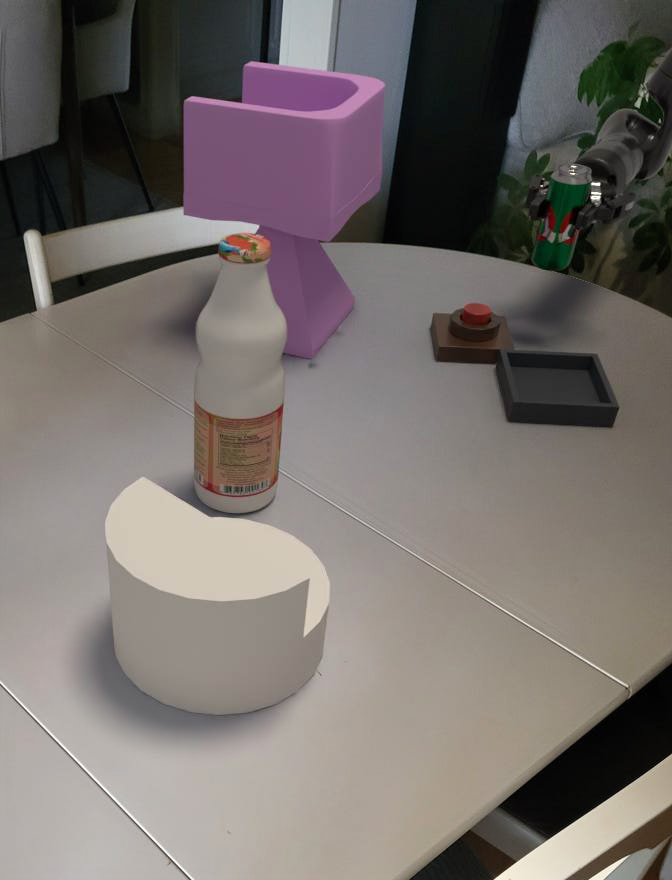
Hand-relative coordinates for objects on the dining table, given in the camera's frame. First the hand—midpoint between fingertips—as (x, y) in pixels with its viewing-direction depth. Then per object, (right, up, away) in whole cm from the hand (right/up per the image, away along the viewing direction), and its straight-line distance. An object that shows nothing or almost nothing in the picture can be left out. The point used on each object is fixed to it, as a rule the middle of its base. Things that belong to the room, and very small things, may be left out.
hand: (556, 217), depth 123 cm
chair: (-34, -7, +18) cm, 39 cm away
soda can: (+1, -4, +7) cm, 8 cm away
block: (-7, -12, +12) cm, 19 cm away
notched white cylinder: (-43, -53, -30) cm, 75 cm away
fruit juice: (-41, -37, -13) cm, 56 cm away
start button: (-7, -10, +10) cm, 16 cm away
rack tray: (0, -22, +2) cm, 22 cm away
